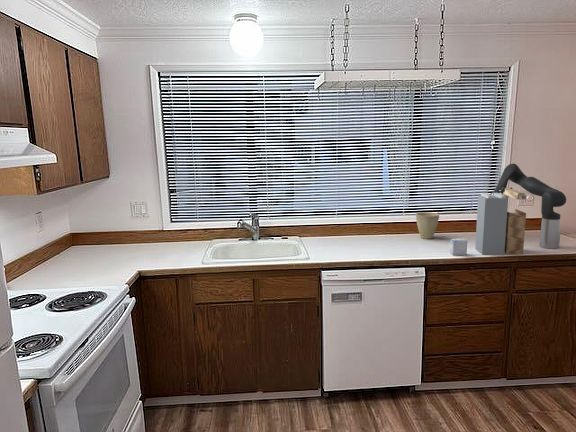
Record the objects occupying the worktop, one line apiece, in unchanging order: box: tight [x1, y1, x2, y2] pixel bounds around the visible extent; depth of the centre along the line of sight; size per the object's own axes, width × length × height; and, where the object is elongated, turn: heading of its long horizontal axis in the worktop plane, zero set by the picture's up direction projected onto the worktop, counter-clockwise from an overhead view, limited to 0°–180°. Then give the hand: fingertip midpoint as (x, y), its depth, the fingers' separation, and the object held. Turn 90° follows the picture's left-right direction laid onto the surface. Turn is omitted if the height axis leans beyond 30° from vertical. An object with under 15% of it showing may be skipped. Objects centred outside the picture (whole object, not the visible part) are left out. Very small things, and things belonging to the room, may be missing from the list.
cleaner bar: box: [502, 187, 527, 200], centre depth 243 cm, size 4×26×4 cm, turn 174°
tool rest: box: [504, 208, 527, 255], centre depth 247 cm, size 9×12×24 cm
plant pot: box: [415, 211, 440, 240], centre depth 285 cm, size 15×15×16 cm
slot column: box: [474, 192, 509, 256], centre depth 246 cm, size 12×12×34 cm
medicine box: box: [449, 238, 468, 256], centre depth 245 cm, size 8×4×9 cm, turn 90°
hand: (507, 189), depth 252 cm, fingers closed on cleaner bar, 3 cm apart
